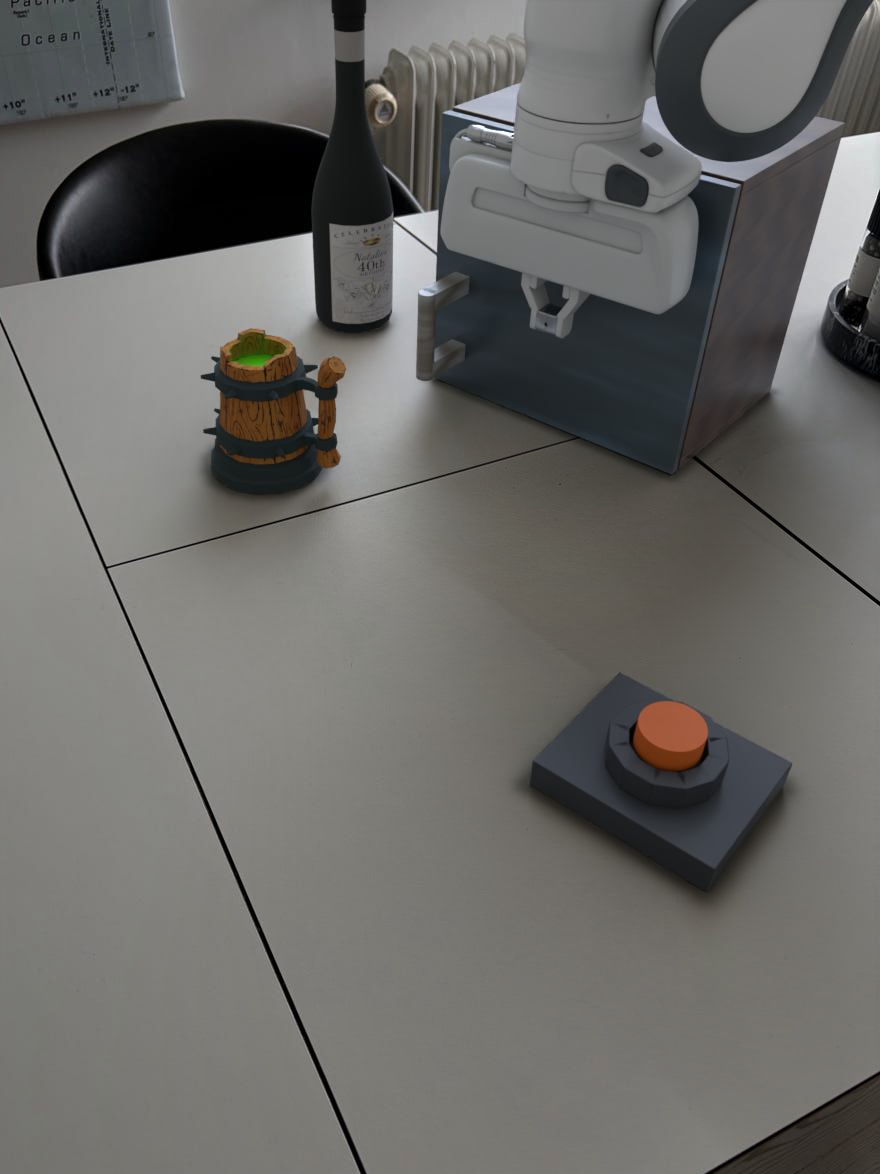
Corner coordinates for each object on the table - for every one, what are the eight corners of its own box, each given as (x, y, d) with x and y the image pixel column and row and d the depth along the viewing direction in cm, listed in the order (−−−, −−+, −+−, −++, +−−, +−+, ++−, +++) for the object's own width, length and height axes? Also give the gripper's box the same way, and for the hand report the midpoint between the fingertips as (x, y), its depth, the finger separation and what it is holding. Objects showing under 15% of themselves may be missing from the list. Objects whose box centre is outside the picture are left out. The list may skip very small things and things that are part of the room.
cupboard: (678, 470, 89) (744, 181, 73) (440, 373, 101) (452, 106, 85) (770, 391, 100) (845, 122, 83) (544, 311, 112) (572, 63, 95)
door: (637, 505, 85) (696, 211, 69) (393, 400, 97) (396, 129, 81) (677, 470, 89) (742, 184, 73) (438, 373, 101) (449, 109, 85)
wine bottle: (405, 327, 109) (412, -5, 88) (338, 344, 106) (329, 4, 85) (368, 297, 114) (366, -23, 93) (303, 313, 111) (286, -15, 90)
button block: (783, 786, 64) (801, 742, 61) (706, 892, 58) (722, 849, 55) (614, 695, 69) (623, 651, 67) (528, 784, 64) (535, 740, 61)
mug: (183, 475, 88) (164, 348, 80) (252, 420, 94) (240, 299, 87) (315, 520, 83) (308, 390, 75) (377, 459, 90) (376, 334, 82)
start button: (714, 743, 61) (720, 722, 60) (681, 783, 59) (687, 763, 58) (654, 711, 63) (659, 690, 62) (620, 748, 61) (624, 728, 60)
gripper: (429, 129, 76) (421, 308, 86) (686, 194, 68) (646, 385, 77) (475, 109, 80) (463, 283, 90) (724, 169, 72) (682, 354, 81)
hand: (550, 331), depth 83 cm, fingers closed
